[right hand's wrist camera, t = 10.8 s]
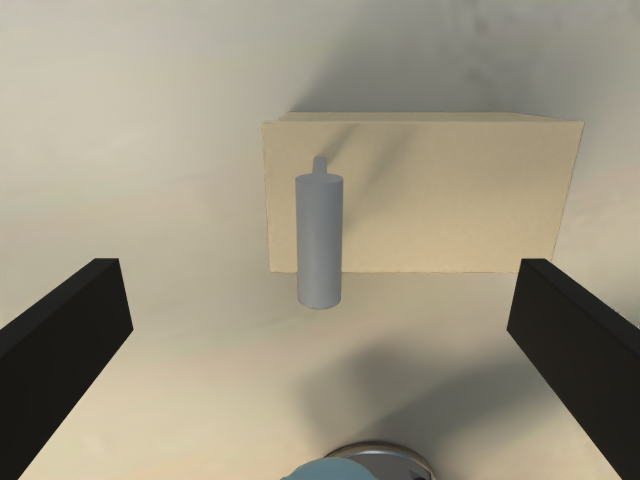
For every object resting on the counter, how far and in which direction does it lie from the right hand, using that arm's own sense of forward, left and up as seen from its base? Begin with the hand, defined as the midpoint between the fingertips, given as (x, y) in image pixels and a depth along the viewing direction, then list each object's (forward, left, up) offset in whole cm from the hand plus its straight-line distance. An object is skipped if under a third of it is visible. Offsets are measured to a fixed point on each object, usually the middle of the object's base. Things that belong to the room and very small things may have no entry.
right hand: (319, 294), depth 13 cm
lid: (+3, -5, -12) cm, 13 cm away
